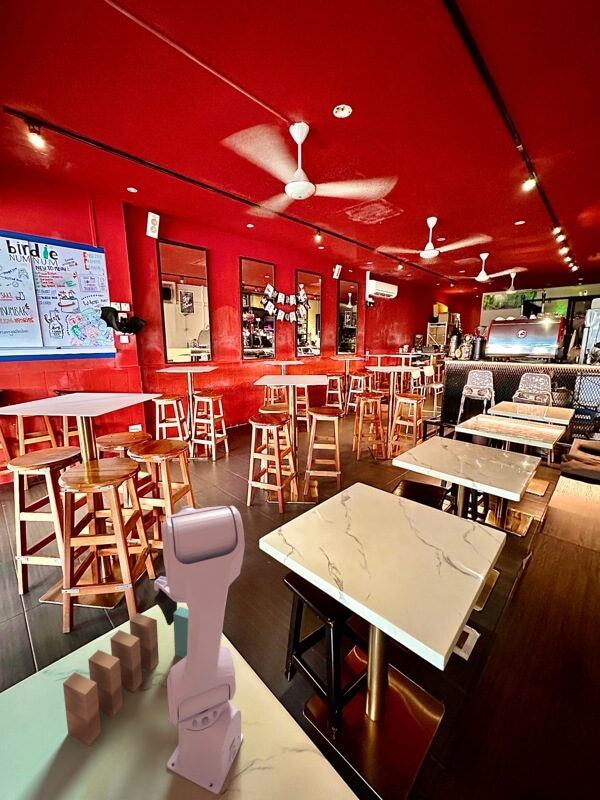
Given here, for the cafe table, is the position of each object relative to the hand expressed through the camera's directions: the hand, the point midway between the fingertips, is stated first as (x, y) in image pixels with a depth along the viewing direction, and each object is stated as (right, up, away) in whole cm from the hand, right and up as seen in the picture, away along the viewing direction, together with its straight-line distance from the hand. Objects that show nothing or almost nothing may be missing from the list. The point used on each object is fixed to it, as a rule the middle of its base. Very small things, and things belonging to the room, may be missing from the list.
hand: (186, 627), depth 69 cm
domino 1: (-13, -9, -13) cm, 20 cm away
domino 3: (-10, -7, -5) cm, 13 cm away
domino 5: (0, -7, +1) cm, 7 cm away
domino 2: (-11, -8, -9) cm, 17 cm away
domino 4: (-8, -7, -1) cm, 11 cm away
